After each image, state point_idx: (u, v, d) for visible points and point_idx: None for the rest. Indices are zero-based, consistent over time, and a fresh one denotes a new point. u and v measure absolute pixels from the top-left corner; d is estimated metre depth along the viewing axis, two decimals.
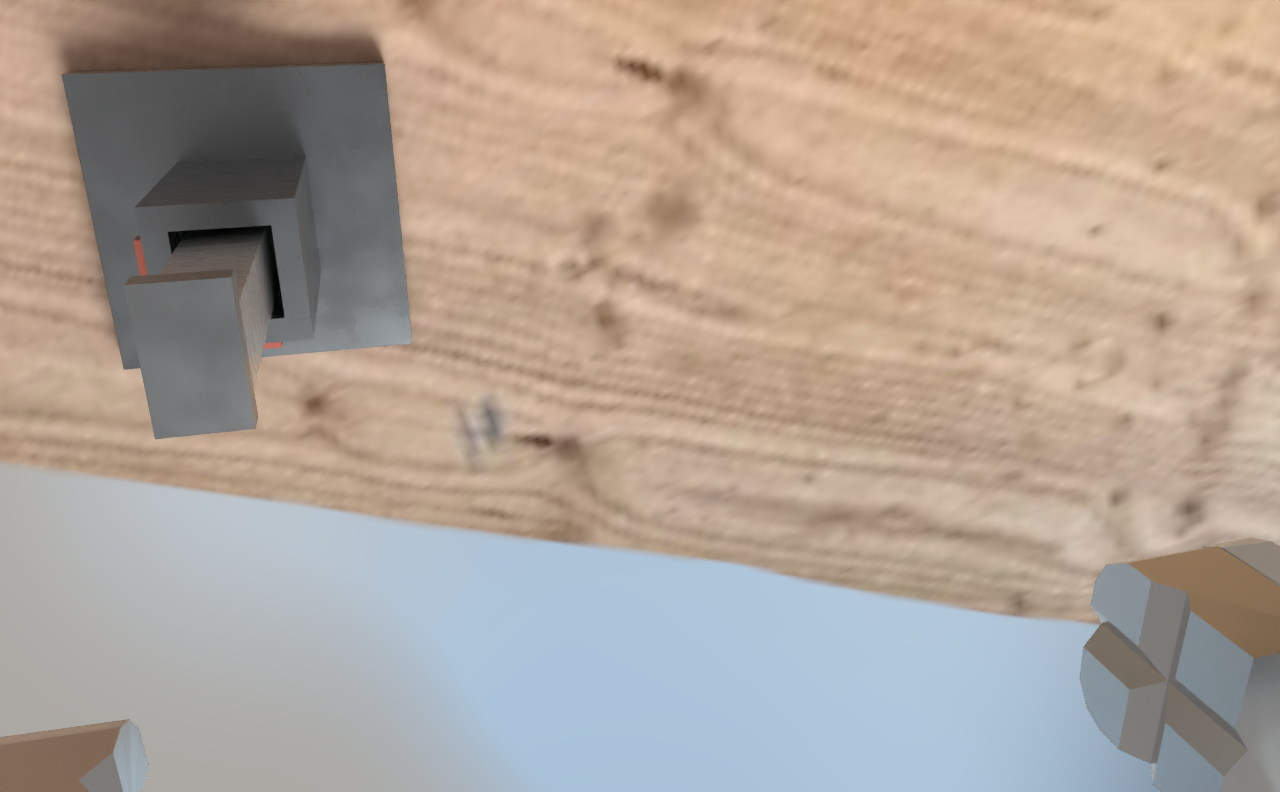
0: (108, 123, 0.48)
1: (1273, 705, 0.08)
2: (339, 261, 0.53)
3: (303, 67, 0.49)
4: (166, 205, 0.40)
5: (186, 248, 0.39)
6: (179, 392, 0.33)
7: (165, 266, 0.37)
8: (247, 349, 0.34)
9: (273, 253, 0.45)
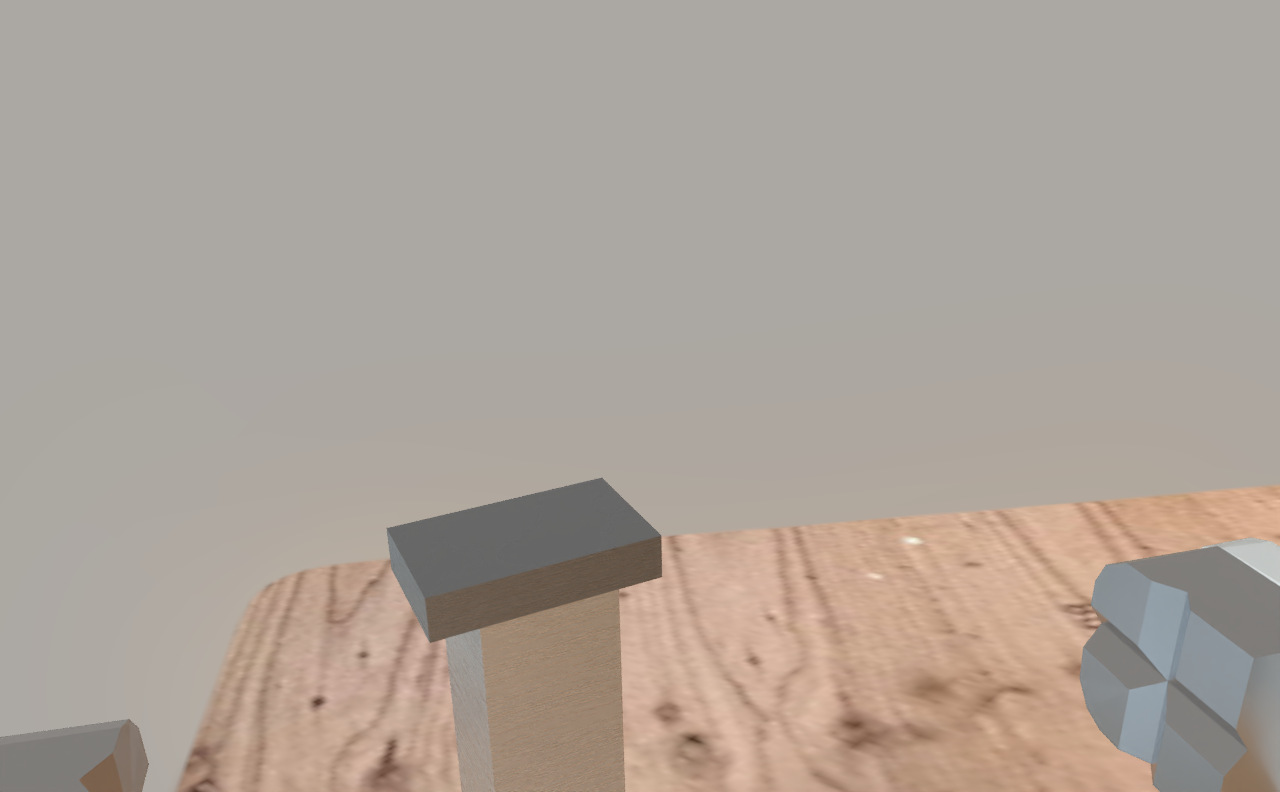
0: None
1: (1273, 705, 0.08)
2: None
3: None
4: None
5: None
6: (467, 532, 0.22)
7: None
8: (543, 611, 0.21)
9: None
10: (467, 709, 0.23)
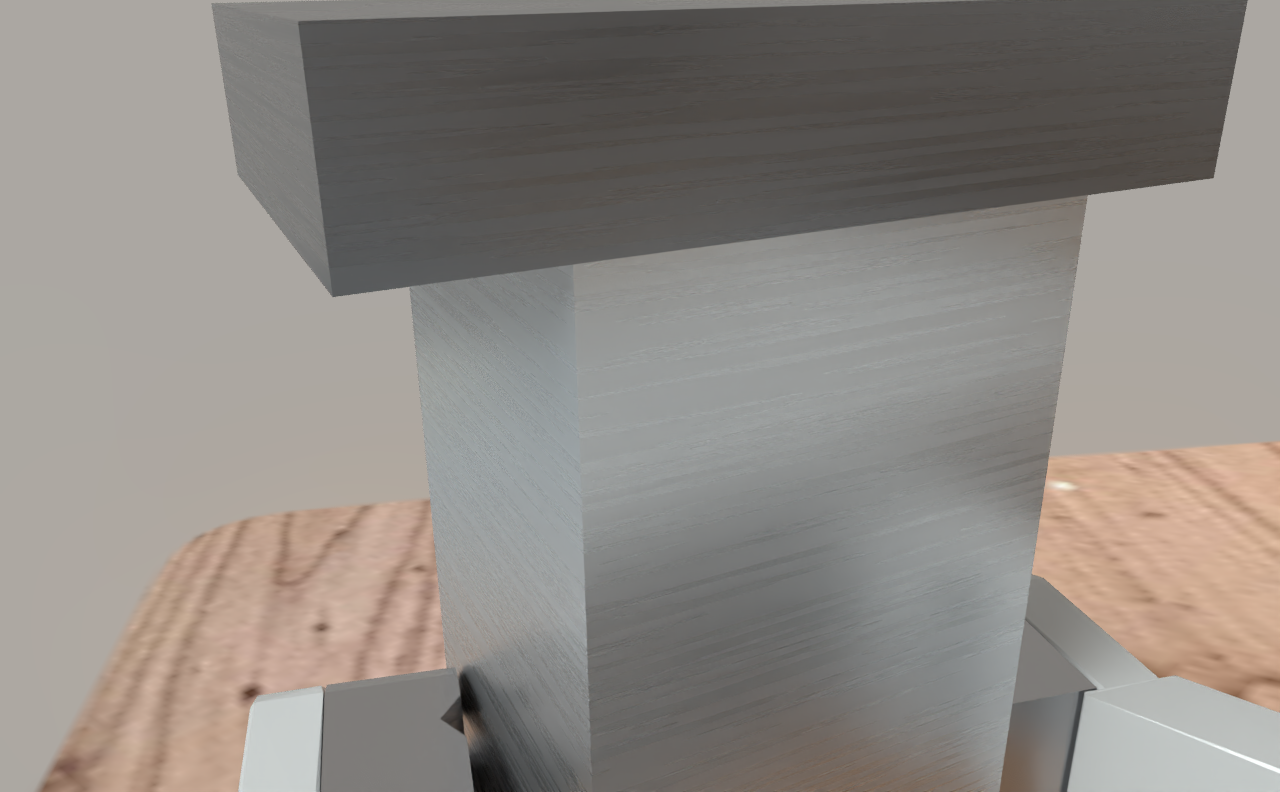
0: None
1: (1007, 758, 0.07)
2: None
3: None
4: None
5: None
6: (504, 0, 0.06)
7: None
8: (833, 234, 0.05)
9: None
10: (494, 666, 0.07)
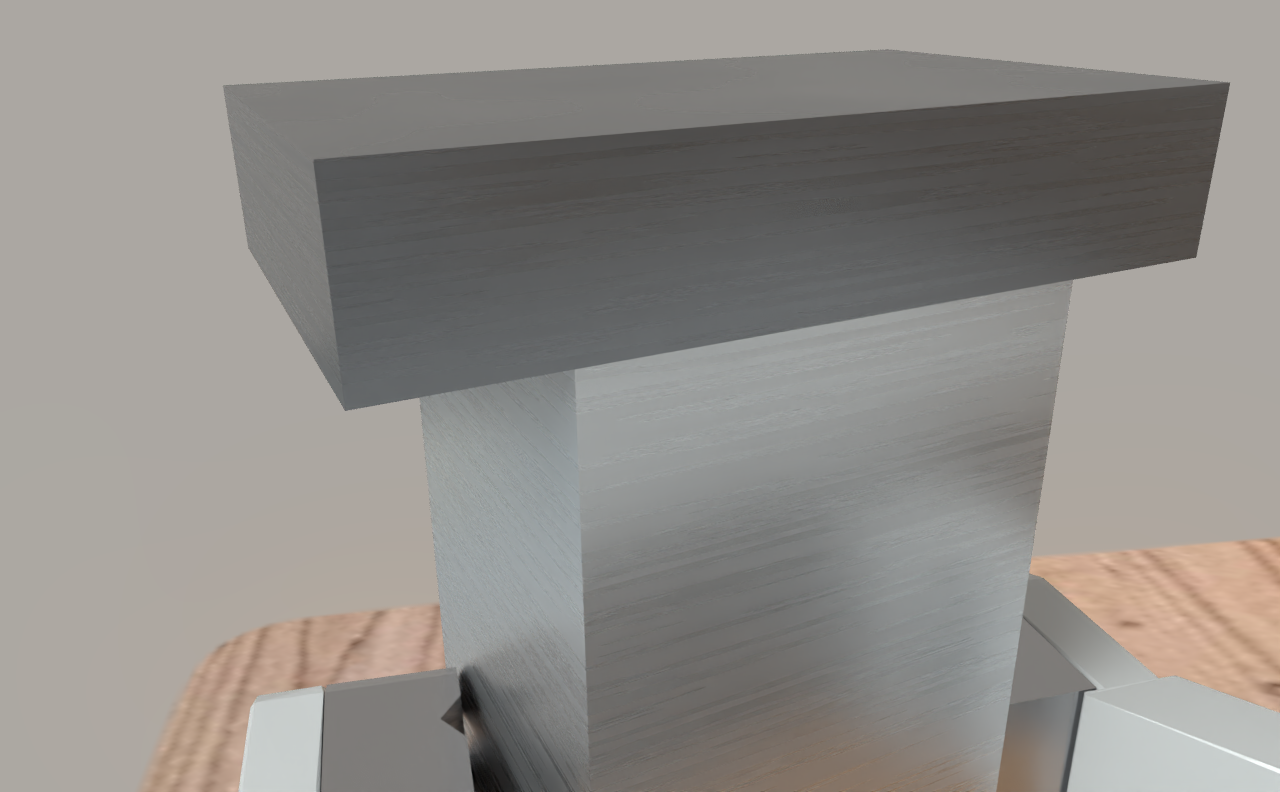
0: None
1: (1007, 758, 0.07)
2: None
3: None
4: None
5: None
6: (507, 85, 0.06)
7: None
8: (825, 329, 0.05)
9: None
10: (497, 721, 0.07)
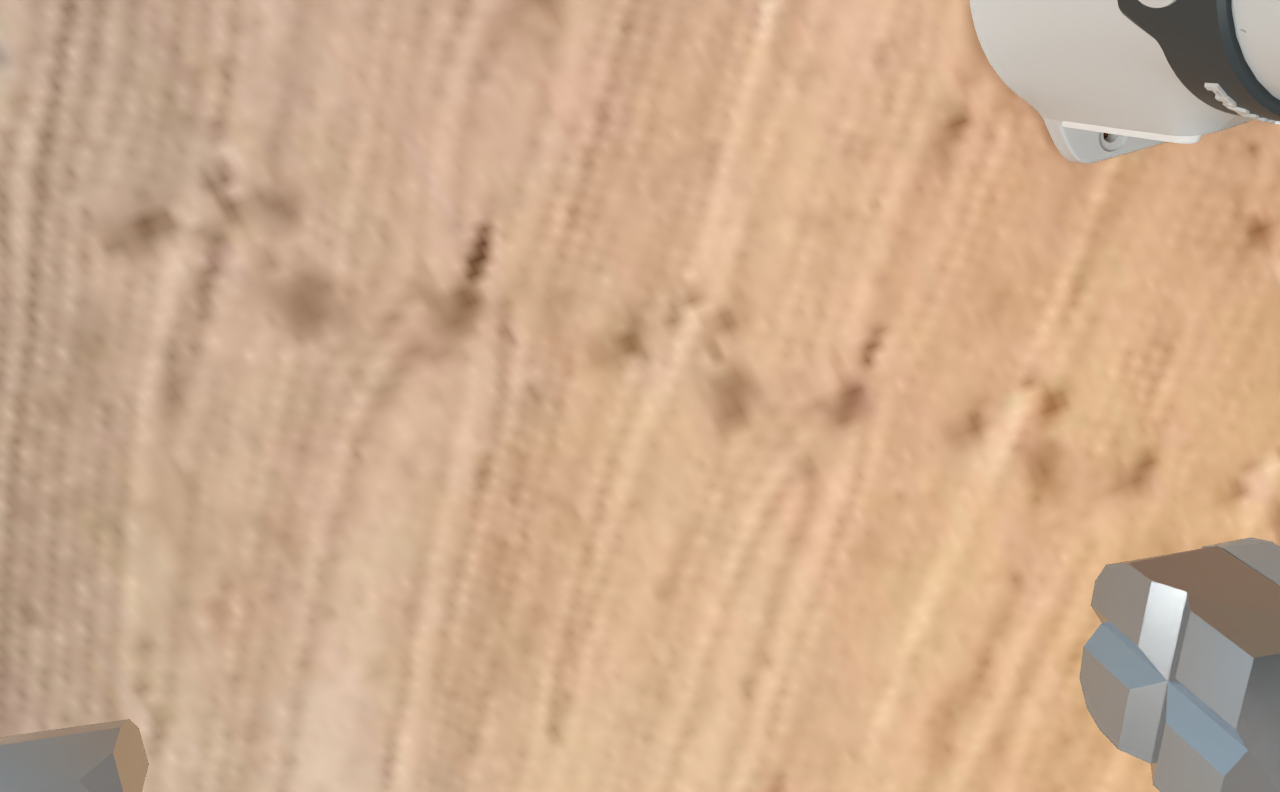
0: None
1: (1273, 705, 0.08)
2: None
3: None
4: None
5: None
6: None
7: None
8: None
9: None
10: None
